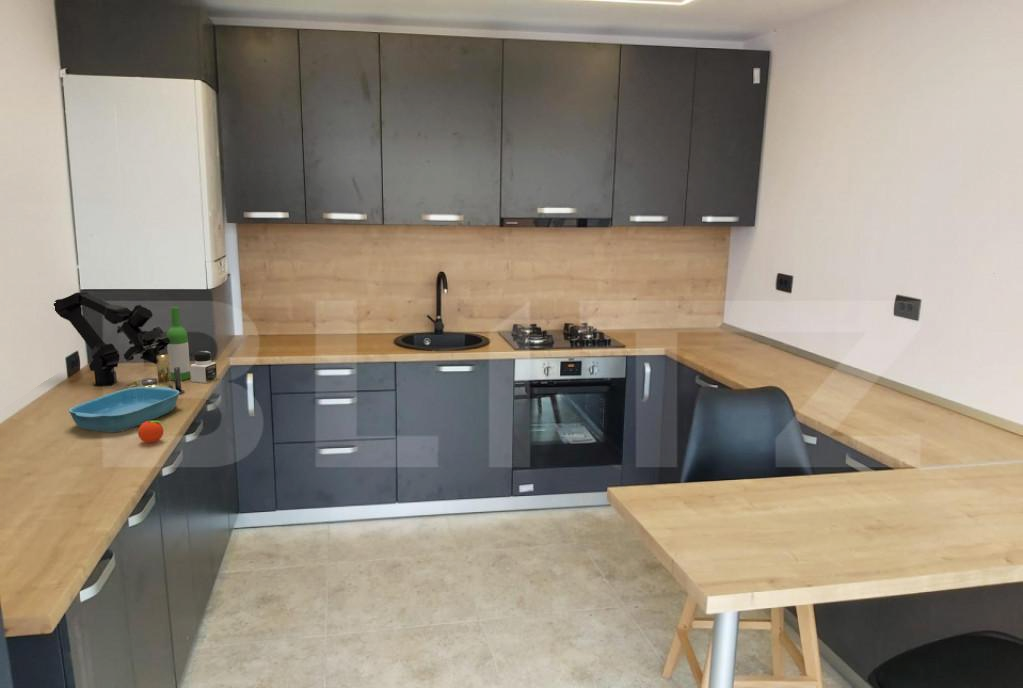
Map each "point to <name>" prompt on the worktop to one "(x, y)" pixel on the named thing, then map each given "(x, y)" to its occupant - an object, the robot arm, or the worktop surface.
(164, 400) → the casserole dish
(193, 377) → the medicine bottle
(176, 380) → the stop post
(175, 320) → the wine bottle
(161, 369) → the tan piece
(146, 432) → the tomato
